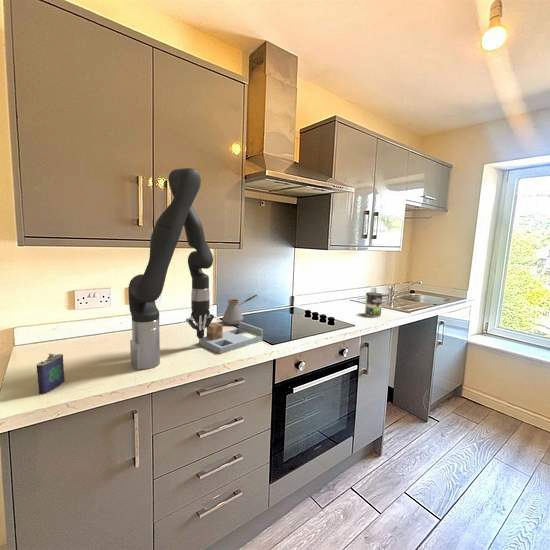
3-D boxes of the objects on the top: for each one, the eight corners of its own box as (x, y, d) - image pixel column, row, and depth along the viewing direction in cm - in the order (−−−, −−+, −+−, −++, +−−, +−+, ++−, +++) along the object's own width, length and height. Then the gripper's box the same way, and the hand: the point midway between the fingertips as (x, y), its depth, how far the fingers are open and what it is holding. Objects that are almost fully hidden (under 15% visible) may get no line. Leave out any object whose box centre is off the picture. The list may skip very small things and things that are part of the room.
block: (213, 340, 132) (213, 327, 131) (206, 337, 135) (206, 324, 135) (222, 337, 136) (222, 324, 135) (215, 335, 139) (216, 322, 138)
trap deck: (220, 354, 124) (220, 341, 123) (198, 343, 134) (198, 331, 134) (262, 340, 141) (262, 329, 140) (240, 332, 152) (240, 321, 151)
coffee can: (384, 316, 192) (386, 295, 191) (369, 317, 190) (371, 295, 188) (375, 312, 202) (377, 292, 201) (361, 313, 200) (363, 292, 198)
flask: (59, 379, 98) (57, 348, 97) (68, 380, 98) (66, 348, 97) (35, 394, 89) (33, 359, 88) (45, 395, 89) (43, 360, 88)
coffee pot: (227, 327, 159) (228, 299, 157) (219, 321, 169) (219, 295, 167) (262, 322, 171) (263, 296, 169) (252, 317, 181) (252, 292, 179)
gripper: (191, 302, 120) (191, 343, 123) (218, 298, 130) (218, 336, 132) (181, 299, 125) (182, 339, 128) (208, 295, 135) (208, 332, 137)
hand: (200, 337), depth 130 cm, fingers closed
